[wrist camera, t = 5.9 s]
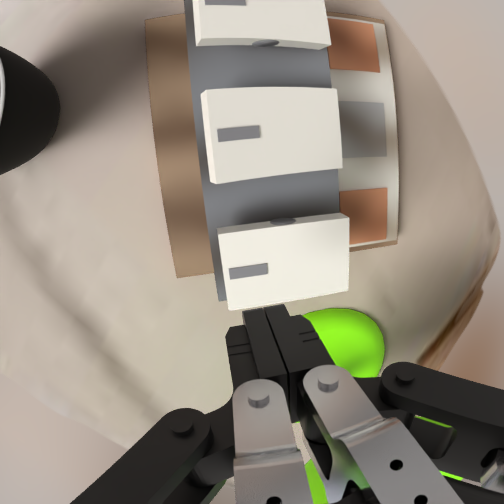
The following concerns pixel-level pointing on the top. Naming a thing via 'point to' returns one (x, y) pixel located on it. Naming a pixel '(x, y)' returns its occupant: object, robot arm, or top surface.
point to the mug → (24, 110)
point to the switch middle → (270, 131)
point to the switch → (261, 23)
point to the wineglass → (349, 362)
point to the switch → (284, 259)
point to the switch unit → (280, 186)
